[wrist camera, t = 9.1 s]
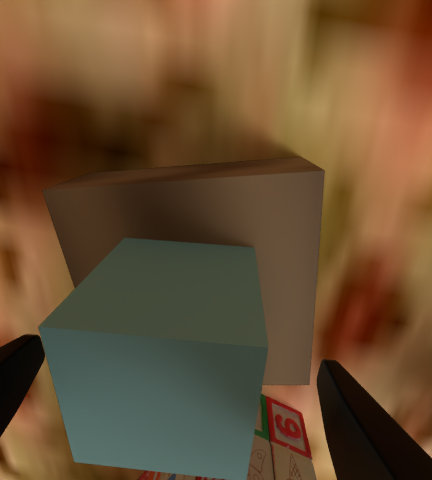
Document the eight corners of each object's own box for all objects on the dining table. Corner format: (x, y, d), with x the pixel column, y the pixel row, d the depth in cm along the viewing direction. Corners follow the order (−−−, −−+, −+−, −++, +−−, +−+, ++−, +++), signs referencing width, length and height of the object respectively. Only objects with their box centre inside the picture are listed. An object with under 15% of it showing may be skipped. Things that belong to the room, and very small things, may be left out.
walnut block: (299, 155, 13) (324, 170, 9) (293, 326, 17) (309, 385, 13) (93, 171, 14) (41, 190, 10) (134, 329, 18) (107, 384, 14)
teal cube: (254, 247, 10) (268, 347, 6) (242, 348, 12) (246, 481, 8) (124, 237, 11) (38, 326, 6) (133, 338, 13) (74, 462, 8)
